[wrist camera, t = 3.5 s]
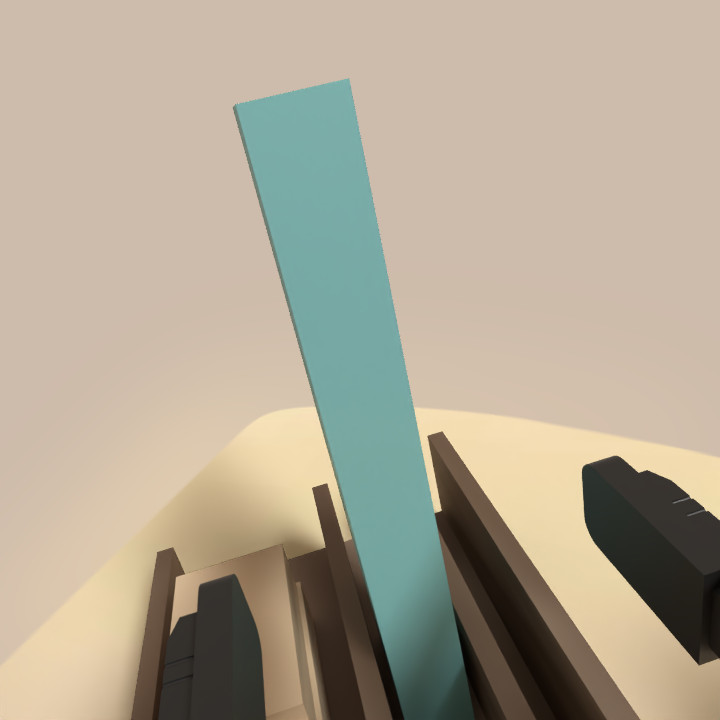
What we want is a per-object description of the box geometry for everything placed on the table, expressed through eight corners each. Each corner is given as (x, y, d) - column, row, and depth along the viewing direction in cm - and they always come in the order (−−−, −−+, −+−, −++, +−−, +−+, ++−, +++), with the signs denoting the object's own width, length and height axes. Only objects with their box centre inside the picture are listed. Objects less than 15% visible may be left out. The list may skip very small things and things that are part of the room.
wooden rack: (136, 1150, 15) (26, 1051, 13) (182, 616, 31) (139, 522, 29) (689, 920, 17) (697, 789, 14) (462, 526, 33) (445, 430, 30)
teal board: (411, 744, 22) (235, 104, 12) (379, 635, 26) (232, 107, 17) (475, 721, 22) (348, 78, 13) (432, 617, 26) (316, 88, 17)
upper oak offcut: (184, 800, 19) (157, 753, 18) (195, 618, 26) (176, 576, 25) (321, 751, 19) (302, 703, 18) (296, 586, 26) (281, 543, 25)
